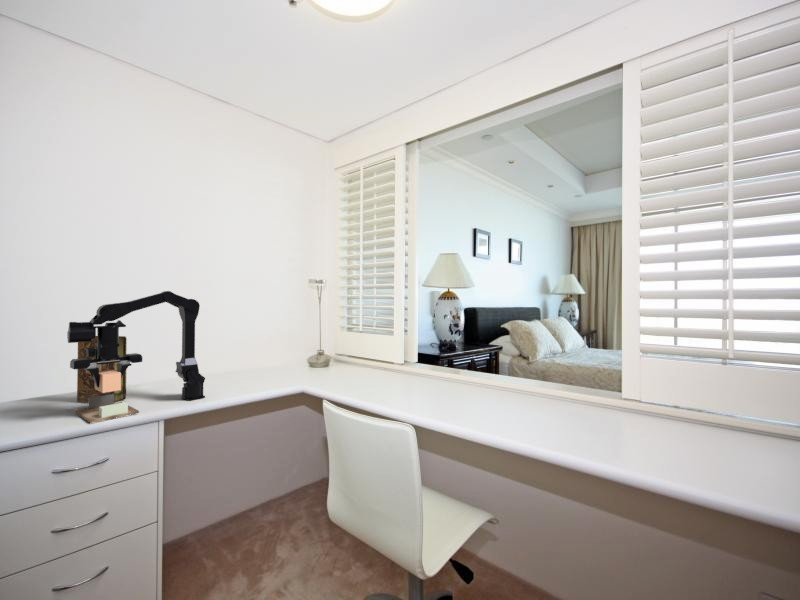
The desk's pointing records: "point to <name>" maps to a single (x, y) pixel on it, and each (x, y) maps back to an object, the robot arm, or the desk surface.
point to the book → (85, 378)
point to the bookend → (100, 401)
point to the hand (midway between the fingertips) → (107, 385)
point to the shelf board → (93, 414)
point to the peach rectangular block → (109, 381)
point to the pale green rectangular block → (113, 409)
